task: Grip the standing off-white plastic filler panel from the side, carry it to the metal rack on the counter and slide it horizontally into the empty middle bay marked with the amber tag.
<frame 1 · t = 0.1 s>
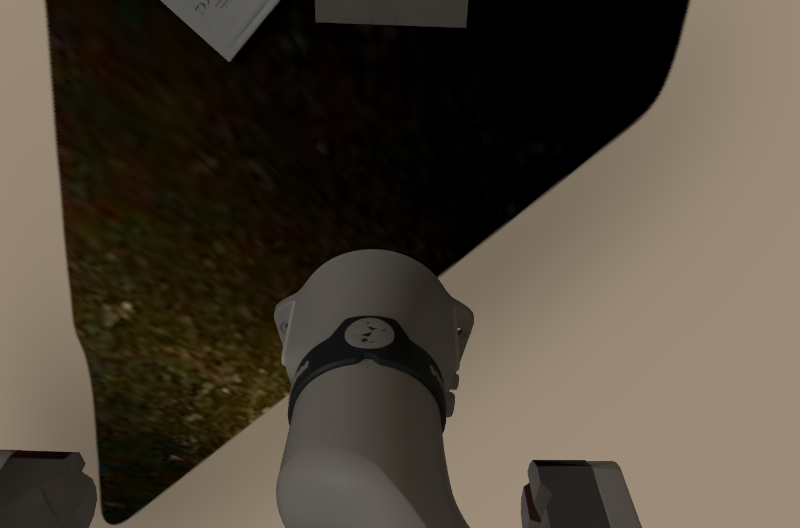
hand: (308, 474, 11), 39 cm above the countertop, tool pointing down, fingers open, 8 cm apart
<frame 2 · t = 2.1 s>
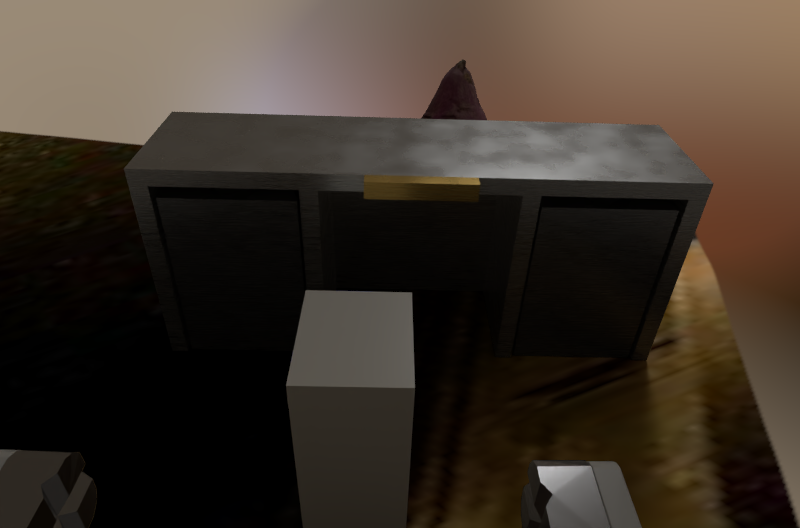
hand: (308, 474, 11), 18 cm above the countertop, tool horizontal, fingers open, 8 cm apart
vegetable: (441, 223, 52), on the countertop
rack: (410, 315, 42), on the countertop
panel: (357, 475, 31), on the countertop
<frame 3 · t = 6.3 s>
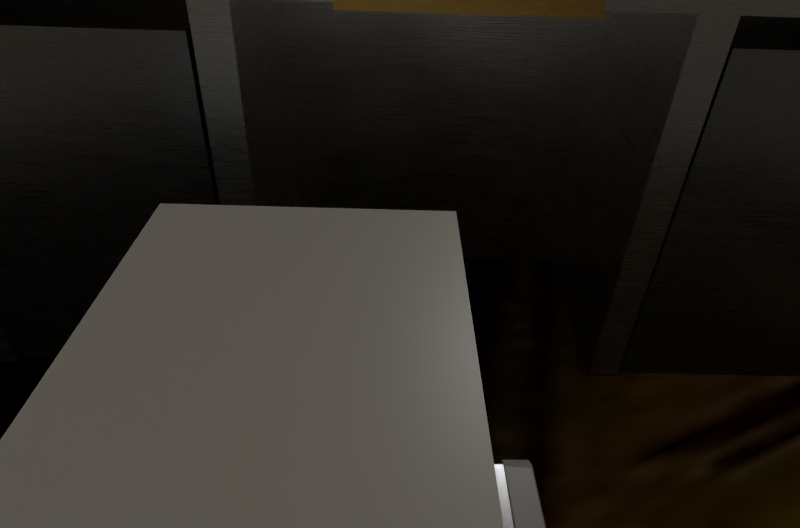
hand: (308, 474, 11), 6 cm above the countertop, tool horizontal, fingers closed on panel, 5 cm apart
rack: (428, 299, 24), on the countertop
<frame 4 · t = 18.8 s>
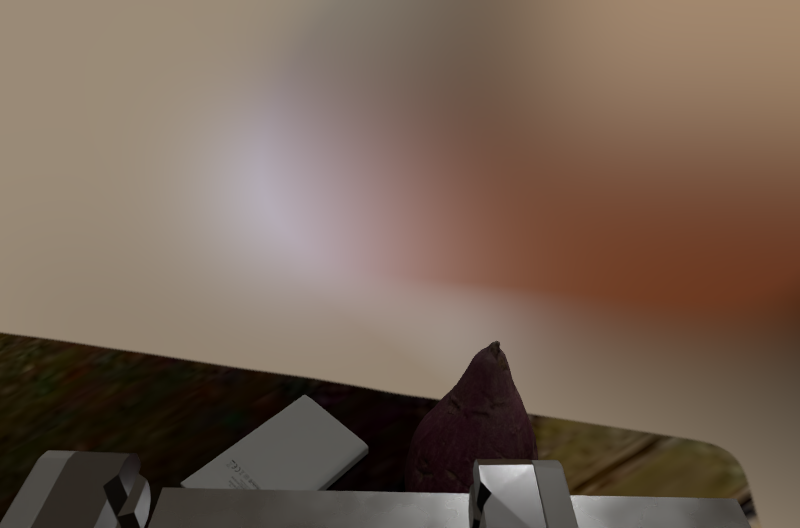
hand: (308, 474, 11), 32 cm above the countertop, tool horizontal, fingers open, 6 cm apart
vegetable: (468, 490, 47), on the countertop
external hard drive: (279, 475, 48), on the countertop
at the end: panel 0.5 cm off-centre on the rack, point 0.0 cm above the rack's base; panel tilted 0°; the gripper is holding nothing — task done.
